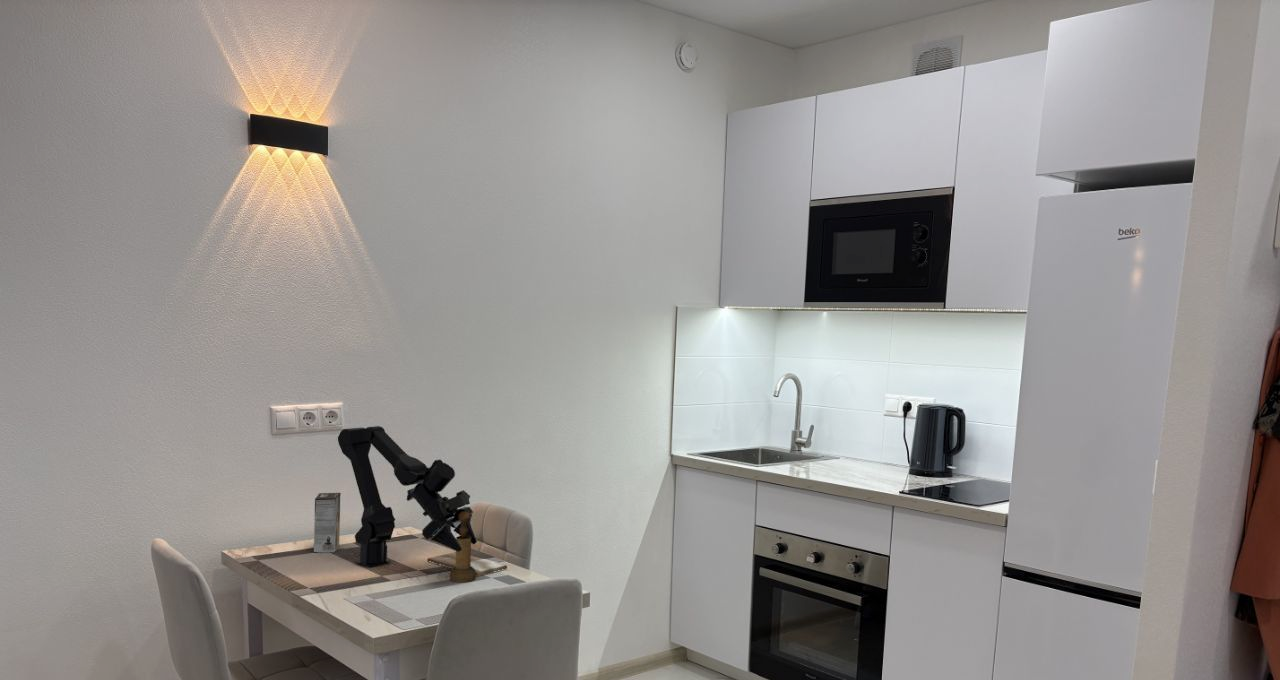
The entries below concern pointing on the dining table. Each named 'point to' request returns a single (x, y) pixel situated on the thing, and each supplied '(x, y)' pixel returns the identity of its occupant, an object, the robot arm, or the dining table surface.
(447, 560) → the grey brown flat rectangle
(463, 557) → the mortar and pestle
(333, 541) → the coffee box
